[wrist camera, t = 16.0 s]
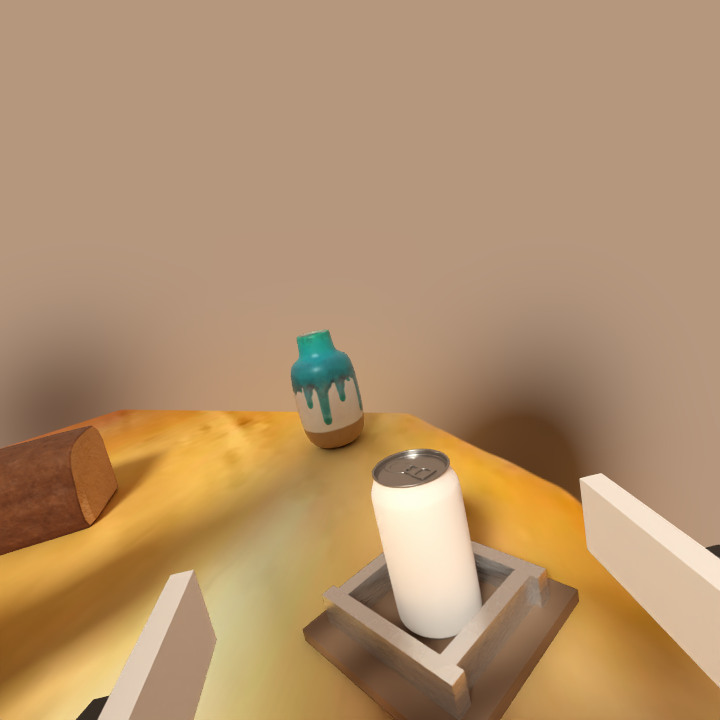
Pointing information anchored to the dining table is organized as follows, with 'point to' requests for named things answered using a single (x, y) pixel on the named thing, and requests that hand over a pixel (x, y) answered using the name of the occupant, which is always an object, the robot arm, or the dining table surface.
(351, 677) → the collar base
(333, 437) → the vase
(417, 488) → the can
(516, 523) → the dining table surface
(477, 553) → the grey hollow square frame
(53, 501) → the bread
